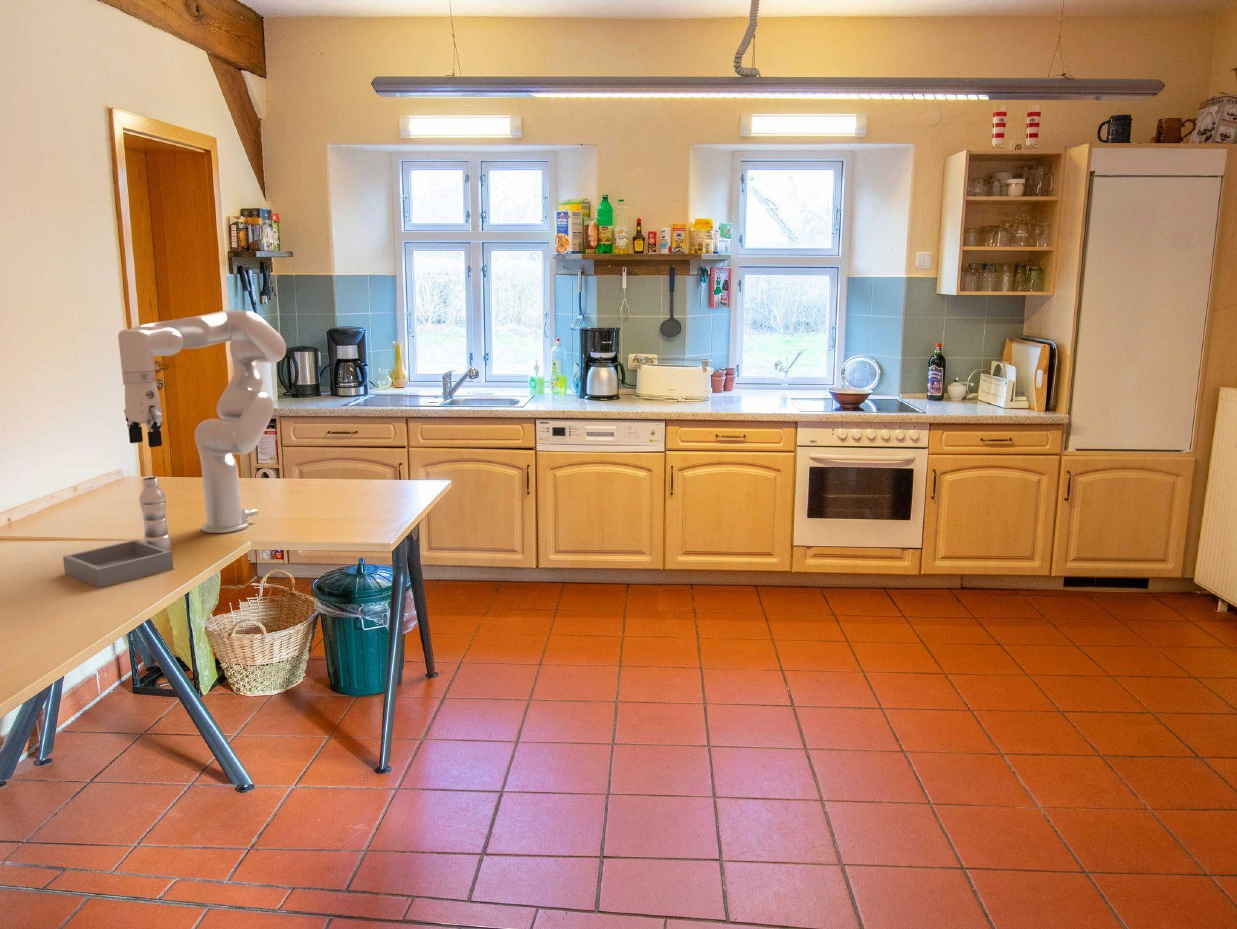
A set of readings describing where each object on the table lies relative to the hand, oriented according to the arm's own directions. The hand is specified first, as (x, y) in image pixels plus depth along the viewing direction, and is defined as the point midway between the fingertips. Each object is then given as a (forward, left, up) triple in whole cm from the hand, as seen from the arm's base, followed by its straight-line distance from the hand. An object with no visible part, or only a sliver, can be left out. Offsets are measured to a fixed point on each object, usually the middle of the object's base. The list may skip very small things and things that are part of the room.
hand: (146, 444), depth 251 cm
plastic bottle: (0, 0, -29) cm, 29 cm away
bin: (+14, +8, -29) cm, 33 cm away
